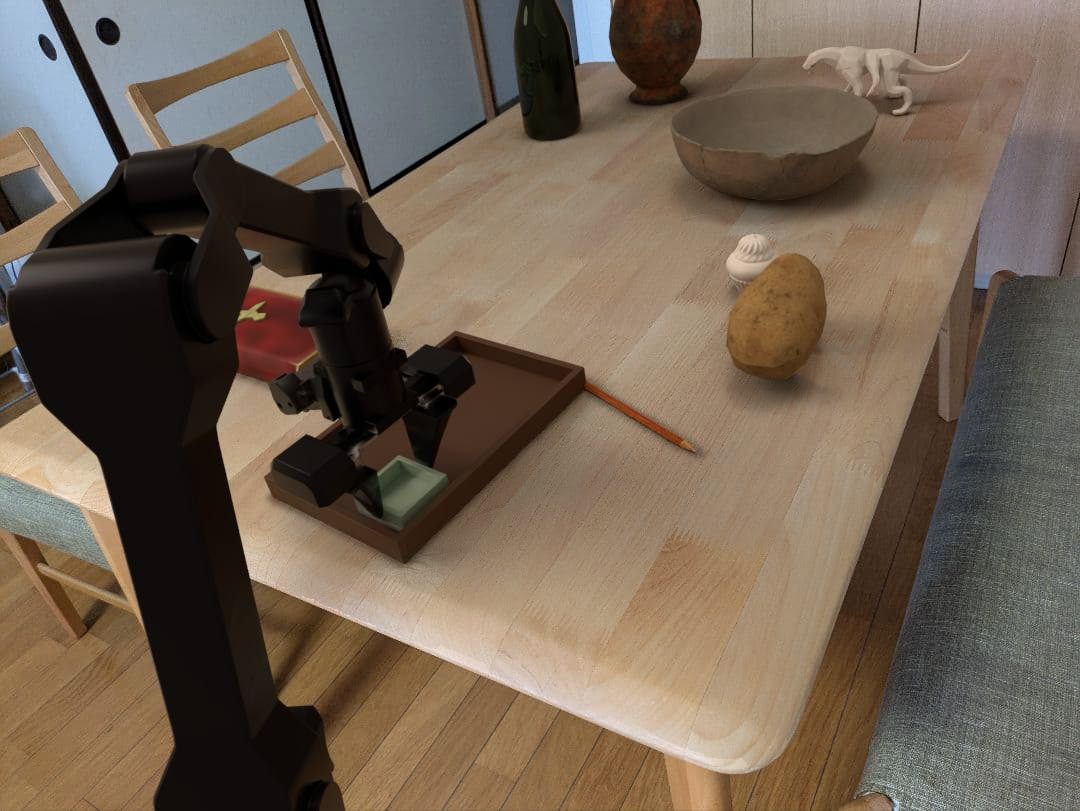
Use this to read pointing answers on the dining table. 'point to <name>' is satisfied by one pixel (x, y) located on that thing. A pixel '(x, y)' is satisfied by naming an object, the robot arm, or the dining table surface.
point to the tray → (460, 439)
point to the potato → (778, 318)
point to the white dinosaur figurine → (876, 69)
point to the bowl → (773, 139)
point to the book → (272, 335)
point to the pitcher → (655, 46)
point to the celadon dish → (406, 491)
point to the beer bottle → (545, 71)
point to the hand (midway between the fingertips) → (402, 493)
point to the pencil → (639, 417)
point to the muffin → (750, 260)
